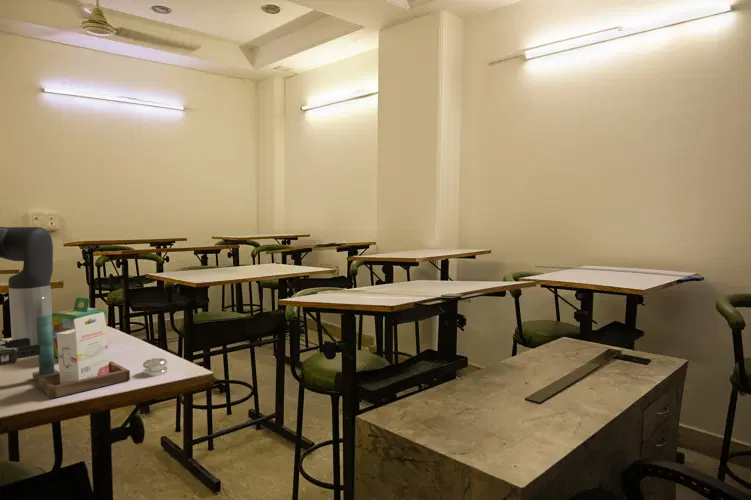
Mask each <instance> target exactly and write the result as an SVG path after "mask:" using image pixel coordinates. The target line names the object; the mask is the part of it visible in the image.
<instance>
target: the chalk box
mask: <svg viewBox="0 0 751 500" xmlns="http://www.w3.org/2000/svg"><path fill="white" fill-rule="evenodd" d="M74 302H75V303H74V305H73V309H69V310H62V311H61V310H60V311H55V312H52V332H53V351H54V358H58V345H57V333H61V332H65V331H69V330H72V329H75V327H74V319H76V318H81V317H84V316H89V315H93V314H98V313H101V312H103V313H104V315H105V322H106V326H107V327H108V311H107V310H106V309H103V308H95V307H89V303H90V298H88V297H76V298H75V301H74ZM80 303H83V306H82V307H80ZM94 322H95V320H91V319H89V320H88V321H87V322H85V325H87V324H91V323H94Z"/></svg>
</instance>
